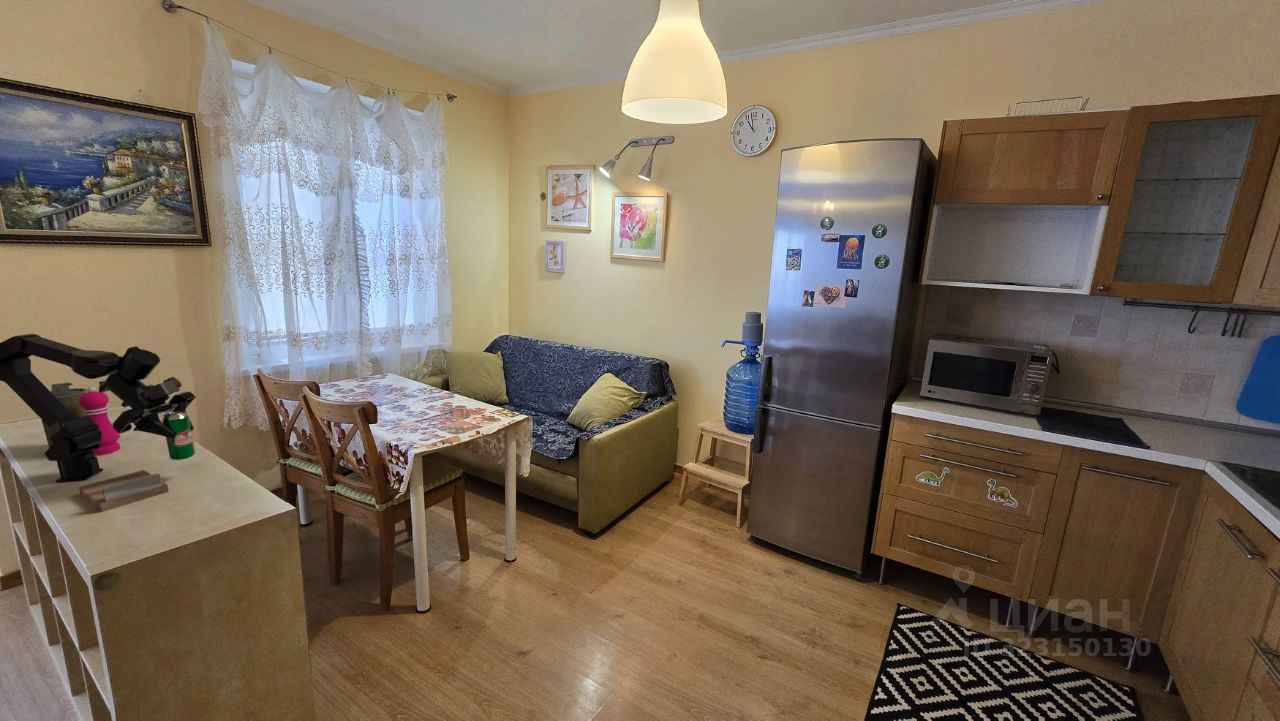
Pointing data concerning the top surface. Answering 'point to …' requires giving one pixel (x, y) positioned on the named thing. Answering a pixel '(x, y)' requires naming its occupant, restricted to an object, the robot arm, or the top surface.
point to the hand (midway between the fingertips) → (183, 433)
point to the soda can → (179, 435)
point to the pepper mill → (100, 419)
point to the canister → (66, 402)
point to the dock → (123, 489)
